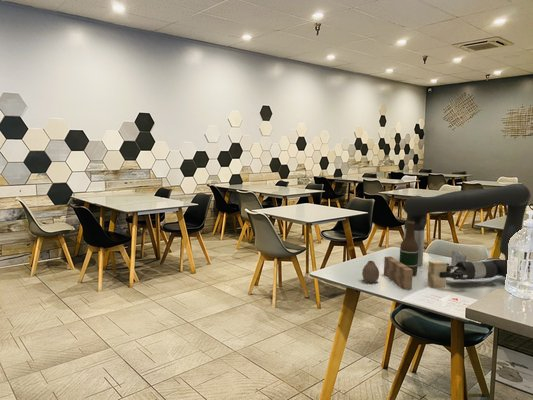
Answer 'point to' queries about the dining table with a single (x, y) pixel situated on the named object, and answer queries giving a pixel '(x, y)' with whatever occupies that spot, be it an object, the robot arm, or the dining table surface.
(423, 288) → the dining table surface
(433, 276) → the maple block
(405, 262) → the beer bottle
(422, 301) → the dining table surface
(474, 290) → the dining table surface
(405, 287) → the walnut board
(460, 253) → the medicine box
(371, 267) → the vase
